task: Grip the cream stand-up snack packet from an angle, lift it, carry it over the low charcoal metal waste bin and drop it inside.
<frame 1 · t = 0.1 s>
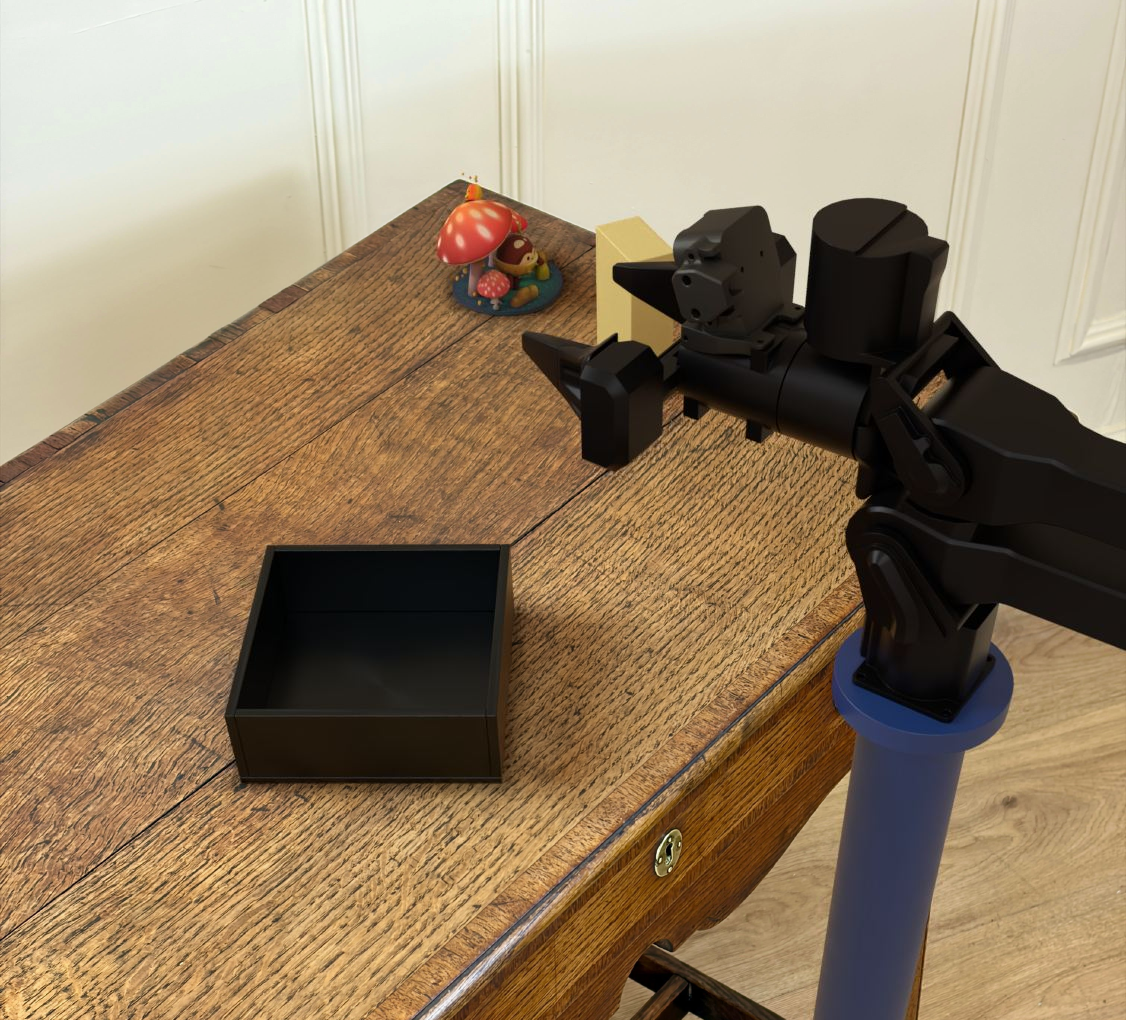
hand: (569, 304, 93), 18 cm above the table, tool horizontal, fingers open, 9 cm apart
bin: (384, 692, 96), on the table
packet: (634, 372, 121), on the table
figurine: (506, 288, 130), on the table
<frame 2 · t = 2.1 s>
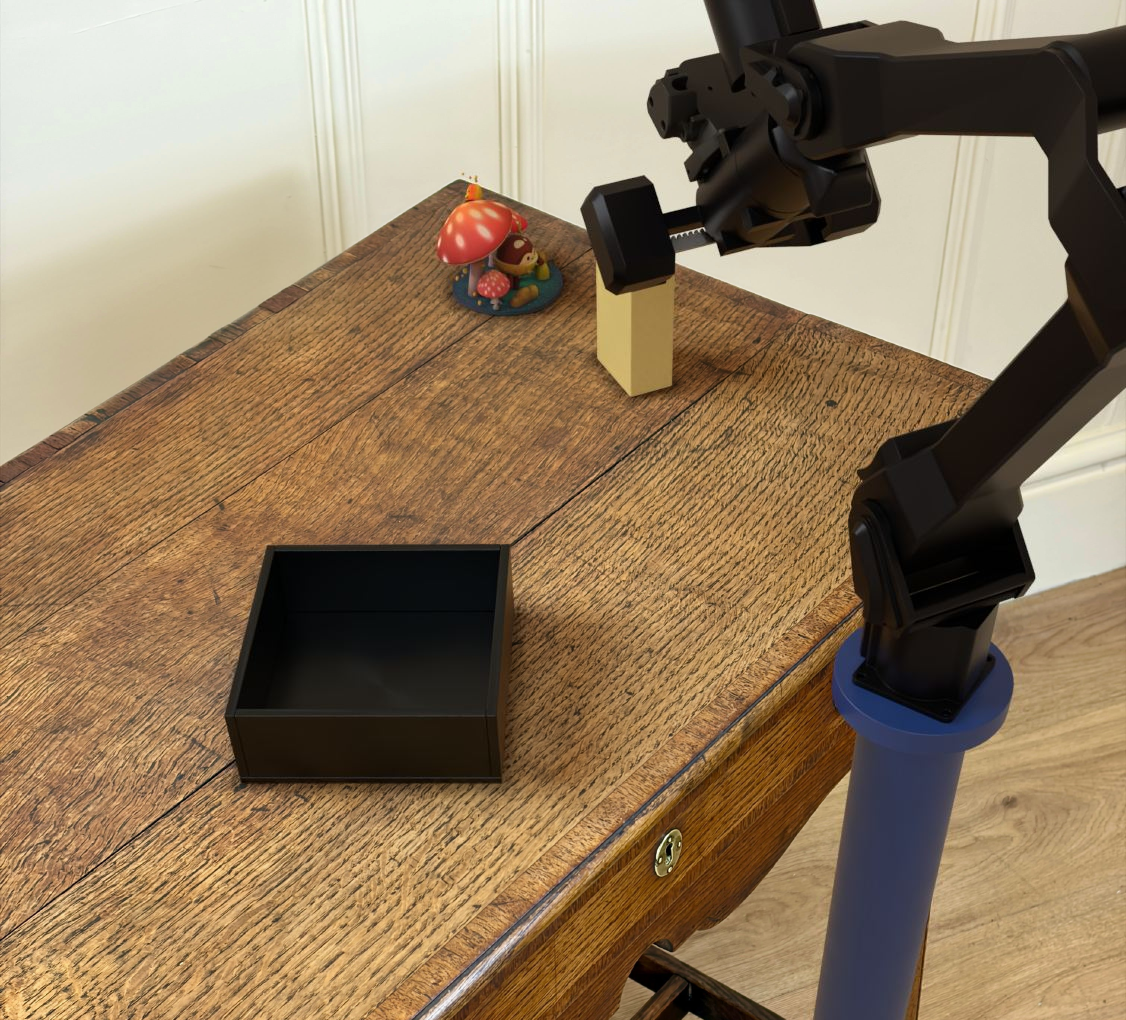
hand: (687, 255, 106), 14 cm above the table, tool tilted 45°, fingers open, 9 cm apart
nothing on the table moved.
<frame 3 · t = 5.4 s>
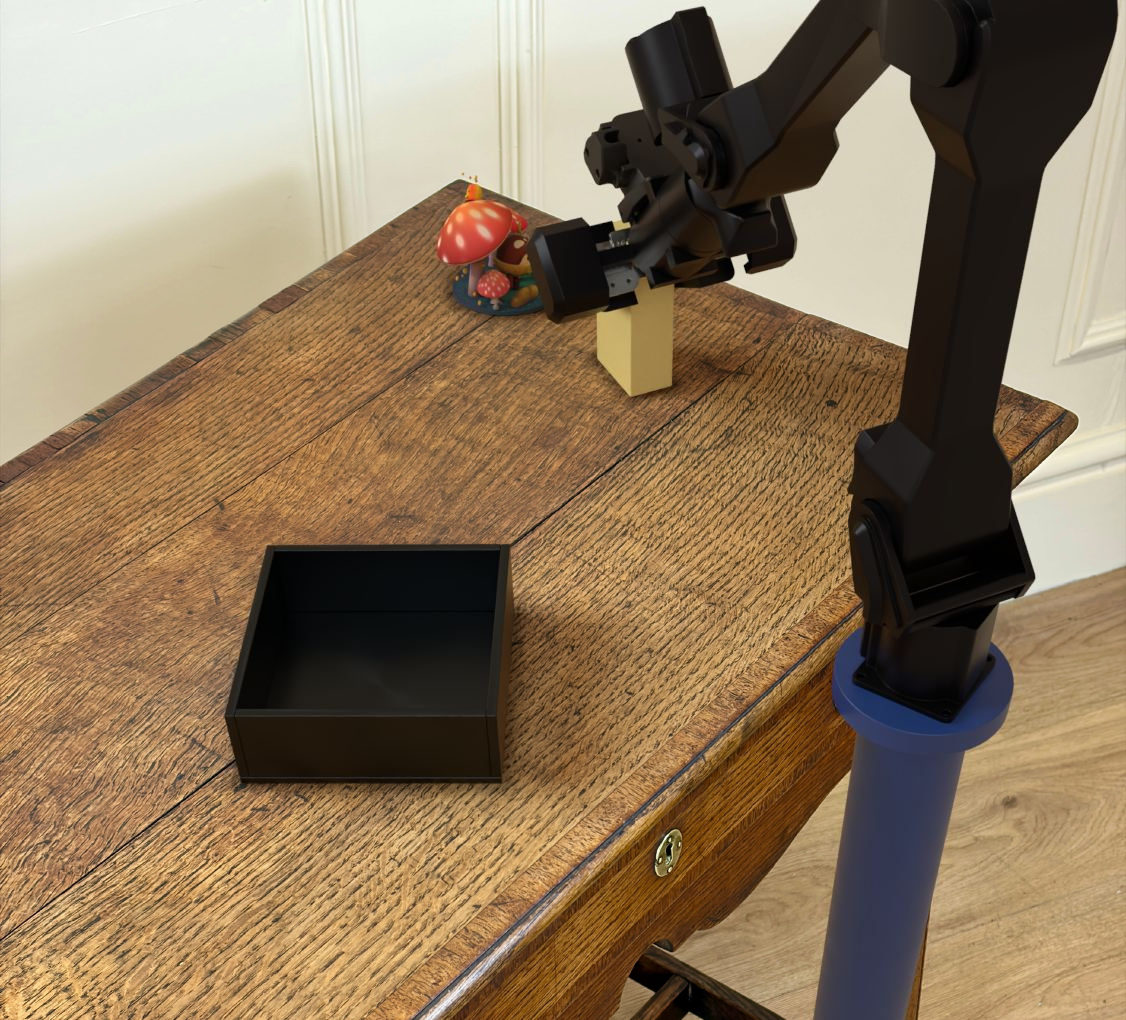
hand: (626, 286, 117), 7 cm above the table, tool tilted 45°, fingers closed on packet, 3 cm apart
packet: (634, 372, 121), on the table, touching gripper
everything else where it was.
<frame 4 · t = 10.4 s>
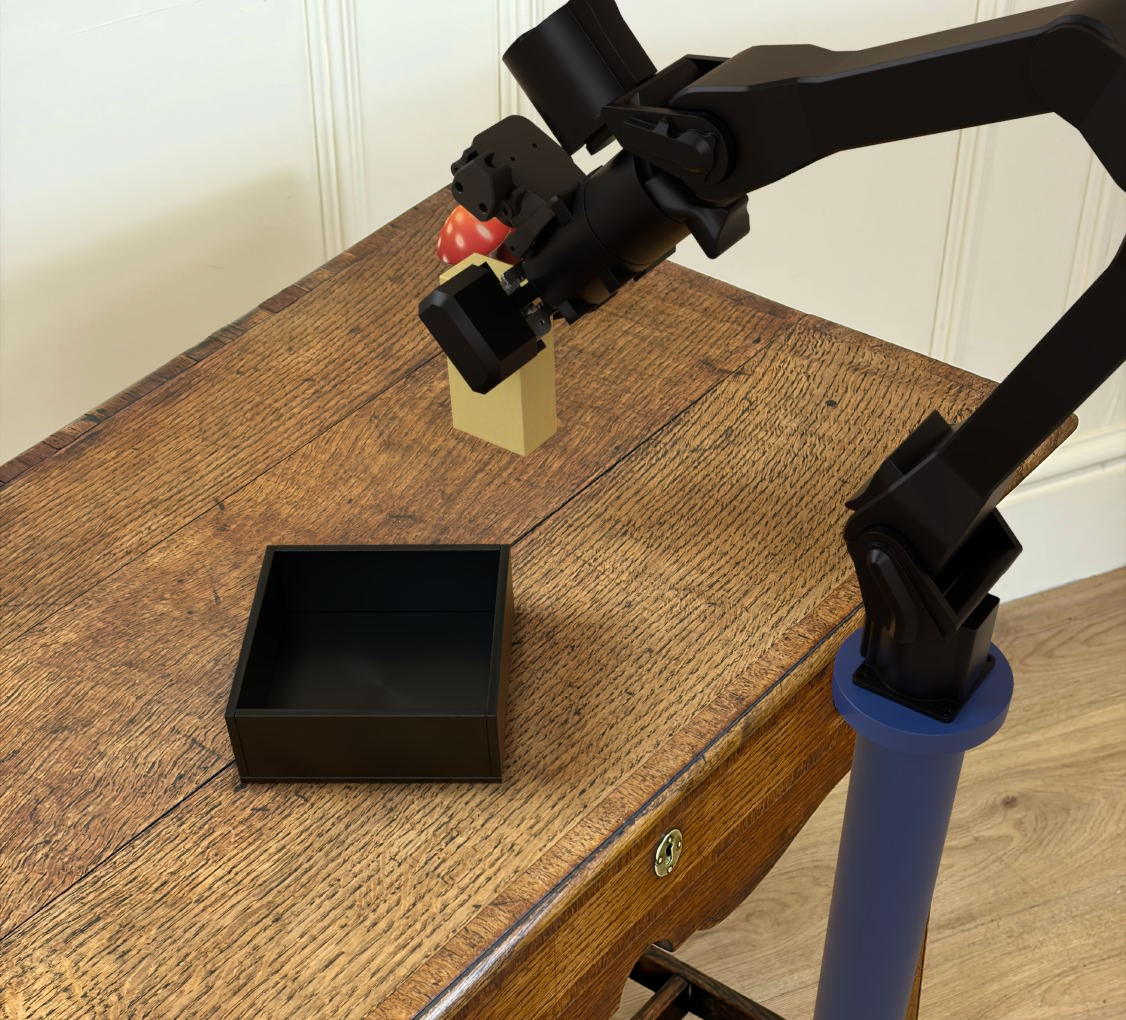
hand: (482, 335, 99), 14 cm above the table, tool tilted 45°, fingers closed on packet, 3 cm apart
packet: (505, 430, 104), point 7 cm above the table, touching gripper
everything else where it was.
when the fingers open (10 cm above the table, at t = 15.3 s): packet drops 2 cm, resting on bin.
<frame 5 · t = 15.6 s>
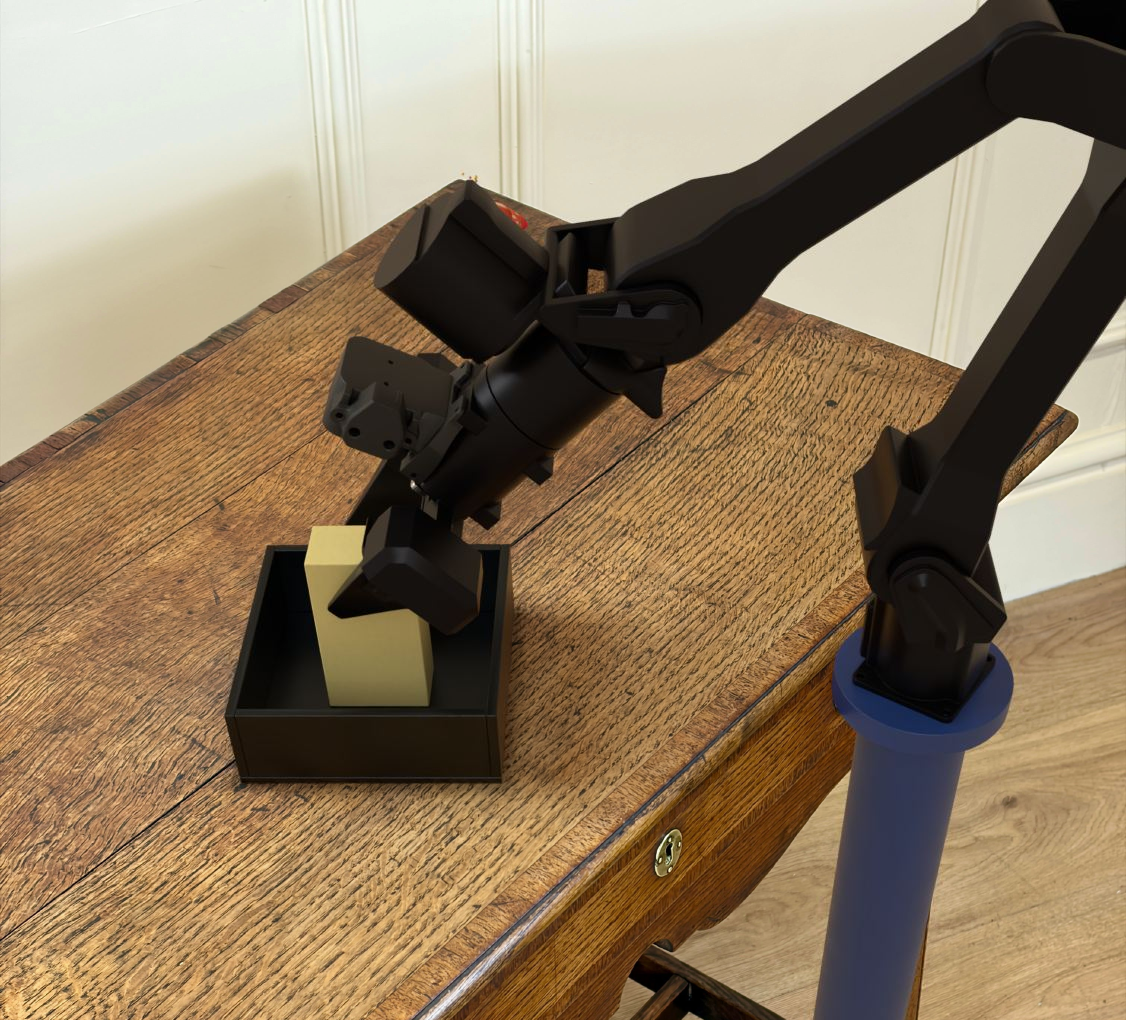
hand: (342, 570, 90), 10 cm above the table, tool tilted 45°, fingers open, 7 cm apart
packet: (382, 686, 96), resting on bin
everything else where it was.
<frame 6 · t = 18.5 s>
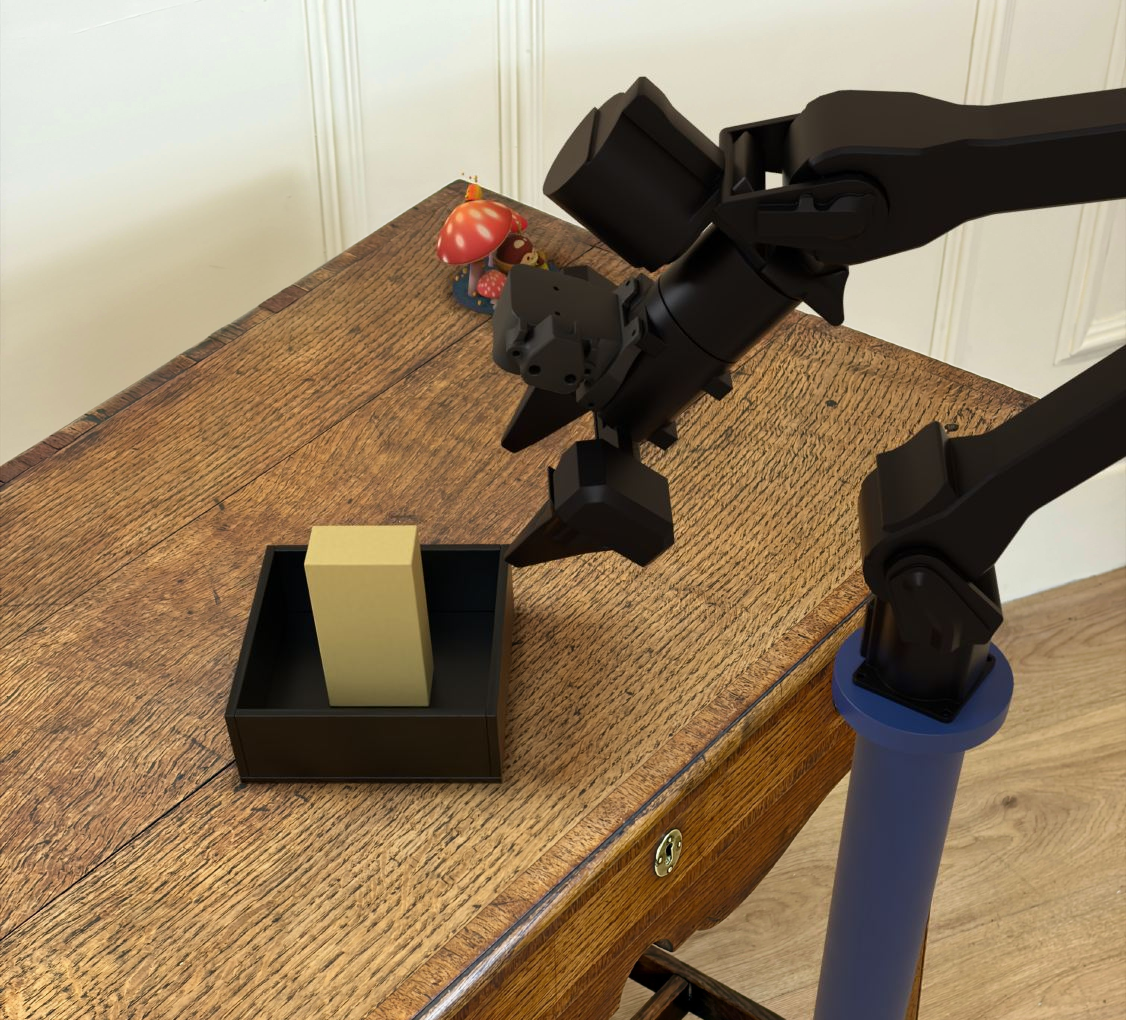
hand: (508, 503, 87), 13 cm above the table, tool tilted 40°, fingers open, 9 cm apart
nothing on the table moved.
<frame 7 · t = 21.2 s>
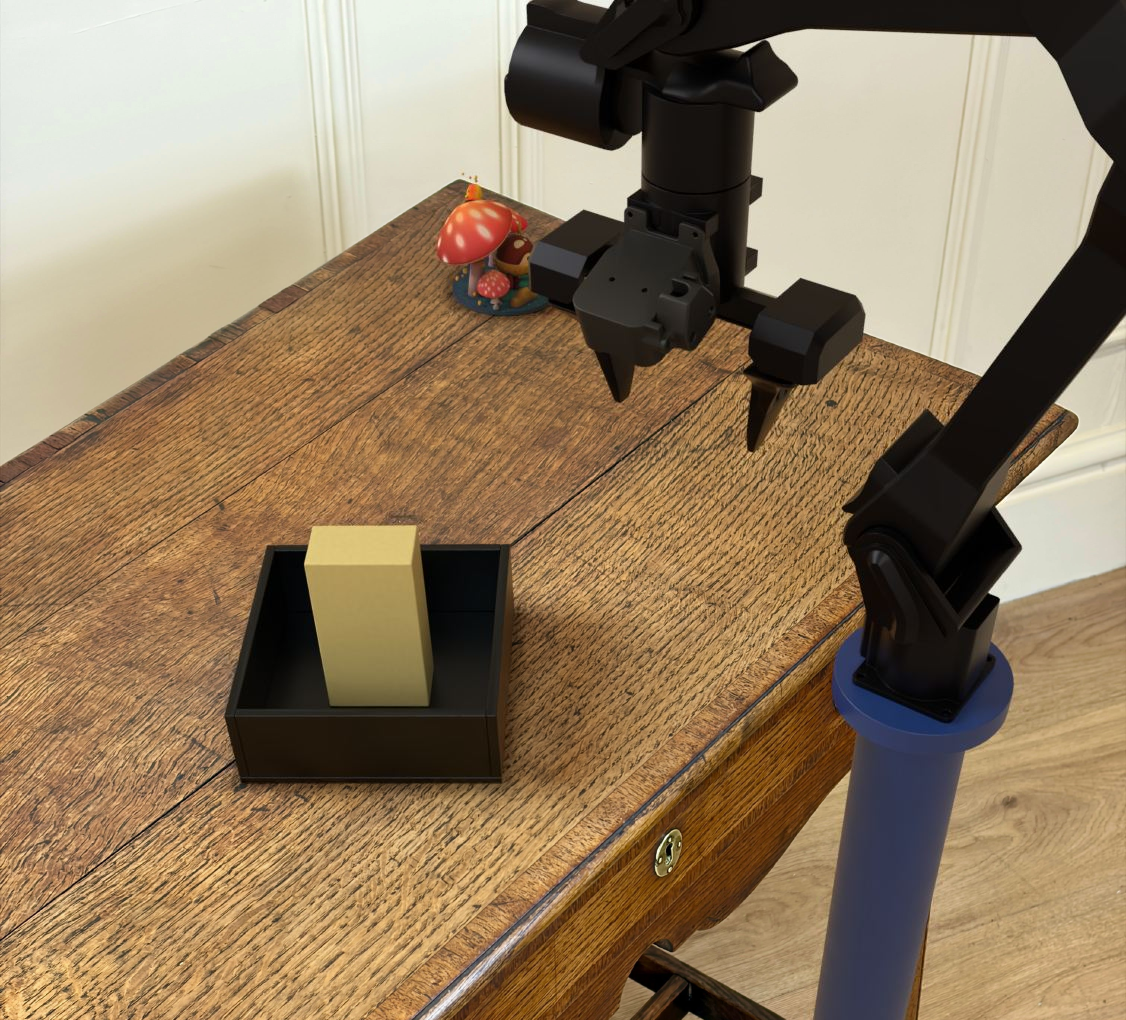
hand: (686, 423, 93), 13 cm above the table, tool pointing down, fingers open, 9 cm apart
nothing on the table moved.
at the end: packet inside the target area in the bin (0.1 cm from its centre), point 0.5 cm above the bin's base; the gripper is holding nothing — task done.
